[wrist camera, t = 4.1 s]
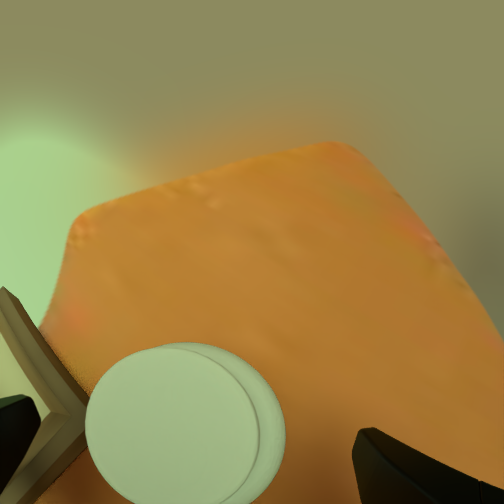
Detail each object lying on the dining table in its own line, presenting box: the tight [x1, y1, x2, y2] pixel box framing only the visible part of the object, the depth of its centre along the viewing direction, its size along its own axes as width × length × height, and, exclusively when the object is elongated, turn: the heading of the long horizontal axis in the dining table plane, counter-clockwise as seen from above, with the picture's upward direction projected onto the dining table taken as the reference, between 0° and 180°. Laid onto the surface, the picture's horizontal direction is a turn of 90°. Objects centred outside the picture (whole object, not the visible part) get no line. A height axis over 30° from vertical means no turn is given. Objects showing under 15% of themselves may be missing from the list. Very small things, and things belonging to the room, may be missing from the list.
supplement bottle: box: [85, 342, 286, 504], centre depth 10 cm, size 6×6×10 cm
